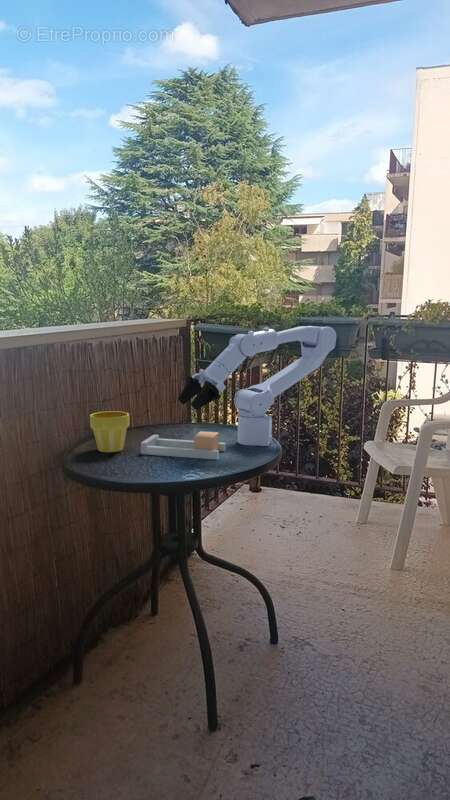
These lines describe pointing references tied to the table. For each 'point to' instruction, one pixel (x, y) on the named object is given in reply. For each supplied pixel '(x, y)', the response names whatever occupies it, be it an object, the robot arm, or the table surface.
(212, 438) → the block
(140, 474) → the table surface
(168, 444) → the chute
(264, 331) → the robot arm
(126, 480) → the table surface
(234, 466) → the table surface
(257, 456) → the table surface
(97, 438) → the plant pot
